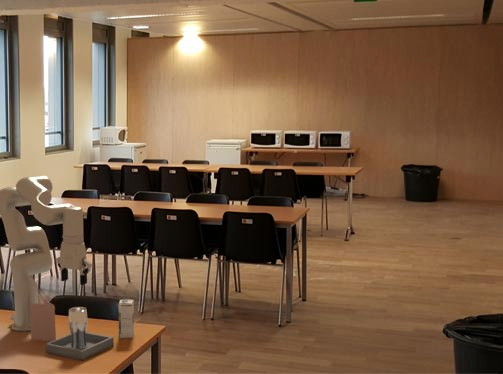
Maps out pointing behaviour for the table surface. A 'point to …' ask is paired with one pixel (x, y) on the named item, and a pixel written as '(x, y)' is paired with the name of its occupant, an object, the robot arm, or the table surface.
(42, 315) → the greeting card
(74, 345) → the beer glass
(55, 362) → the table surface
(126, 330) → the syrup box
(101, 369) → the table surface
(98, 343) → the tray
